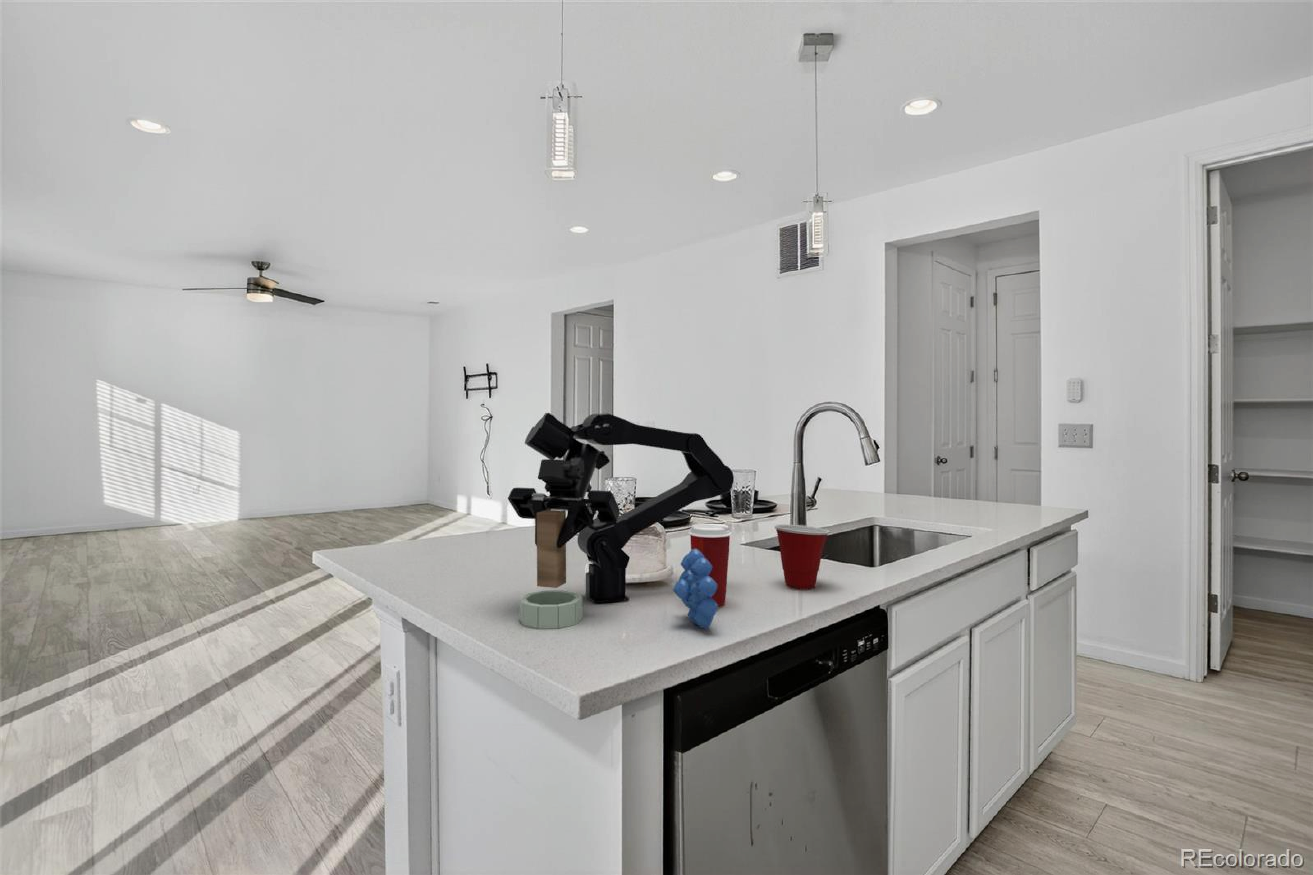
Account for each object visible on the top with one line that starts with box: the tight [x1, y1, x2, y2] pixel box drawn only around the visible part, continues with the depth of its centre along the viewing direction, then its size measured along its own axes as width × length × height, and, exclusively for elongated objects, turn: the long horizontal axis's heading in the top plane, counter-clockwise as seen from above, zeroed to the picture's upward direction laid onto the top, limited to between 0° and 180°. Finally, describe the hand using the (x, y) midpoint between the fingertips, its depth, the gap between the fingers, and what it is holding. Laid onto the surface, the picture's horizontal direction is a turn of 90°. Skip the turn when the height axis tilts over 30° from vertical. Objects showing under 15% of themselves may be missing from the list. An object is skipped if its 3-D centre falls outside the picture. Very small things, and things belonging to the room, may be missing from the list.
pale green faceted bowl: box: [518, 589, 583, 630], centre depth 108 cm, size 10×10×4 cm
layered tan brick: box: [536, 510, 567, 589], centre depth 107 cm, size 4×4×12 cm
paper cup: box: [687, 523, 733, 609], centre depth 117 cm, size 8×8×14 cm
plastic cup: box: [774, 523, 830, 591], centre depth 130 cm, size 11×11×12 cm
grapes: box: [672, 549, 719, 629], centre depth 105 cm, size 12×7×12 cm, turn 19°
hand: (547, 545), depth 106 cm, fingers closed on layered tan brick, 3 cm apart
